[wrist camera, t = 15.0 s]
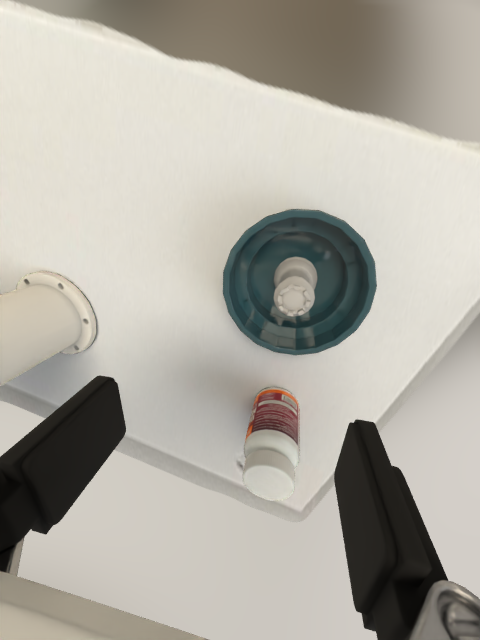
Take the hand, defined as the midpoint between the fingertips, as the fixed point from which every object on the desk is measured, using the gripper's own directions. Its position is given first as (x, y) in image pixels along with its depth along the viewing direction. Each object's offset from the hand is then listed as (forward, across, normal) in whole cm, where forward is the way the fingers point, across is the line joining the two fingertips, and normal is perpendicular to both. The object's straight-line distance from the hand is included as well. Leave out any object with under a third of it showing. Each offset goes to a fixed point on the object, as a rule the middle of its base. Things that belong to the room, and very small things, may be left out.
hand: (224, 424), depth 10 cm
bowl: (+20, -3, -2) cm, 20 cm away
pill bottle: (+20, -3, +16) cm, 26 cm away
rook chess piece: (+20, -3, -2) cm, 20 cm away
